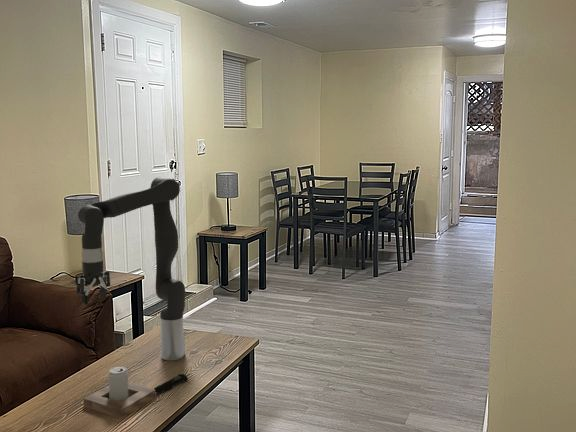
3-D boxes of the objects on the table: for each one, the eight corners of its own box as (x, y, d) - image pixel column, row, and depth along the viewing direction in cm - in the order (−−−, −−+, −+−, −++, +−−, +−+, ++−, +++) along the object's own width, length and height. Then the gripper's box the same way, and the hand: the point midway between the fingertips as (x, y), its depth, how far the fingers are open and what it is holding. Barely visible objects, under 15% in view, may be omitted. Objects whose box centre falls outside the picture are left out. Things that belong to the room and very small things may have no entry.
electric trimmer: (151, 394, 208) (150, 386, 207) (181, 378, 220) (181, 371, 220) (158, 397, 205) (158, 389, 205) (188, 381, 218) (188, 373, 218)
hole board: (119, 387, 212) (119, 379, 211) (155, 397, 204) (155, 389, 204) (83, 406, 197) (83, 398, 196) (121, 418, 189) (120, 409, 189)
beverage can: (123, 407, 197) (122, 374, 195) (106, 405, 198) (104, 372, 196) (131, 398, 203) (130, 366, 201) (114, 397, 204) (113, 365, 202)
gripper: (85, 264, 205) (87, 308, 208) (114, 256, 218) (115, 298, 220) (70, 262, 209) (72, 305, 211) (99, 254, 221) (101, 295, 224)
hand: (94, 301), depth 216 cm, fingers open, 8 cm apart
